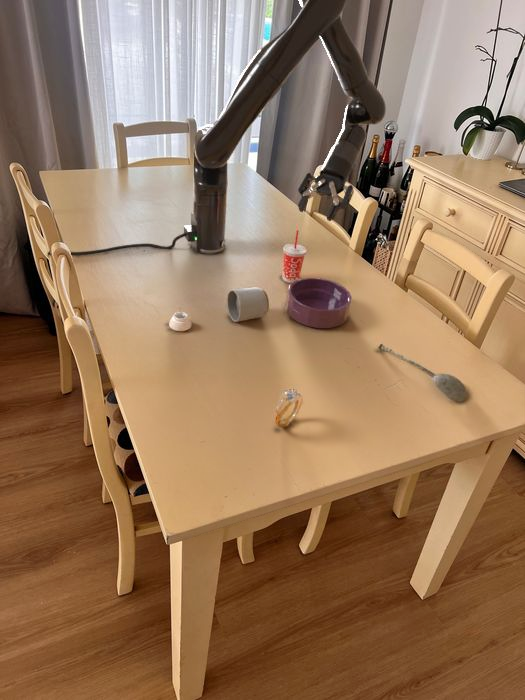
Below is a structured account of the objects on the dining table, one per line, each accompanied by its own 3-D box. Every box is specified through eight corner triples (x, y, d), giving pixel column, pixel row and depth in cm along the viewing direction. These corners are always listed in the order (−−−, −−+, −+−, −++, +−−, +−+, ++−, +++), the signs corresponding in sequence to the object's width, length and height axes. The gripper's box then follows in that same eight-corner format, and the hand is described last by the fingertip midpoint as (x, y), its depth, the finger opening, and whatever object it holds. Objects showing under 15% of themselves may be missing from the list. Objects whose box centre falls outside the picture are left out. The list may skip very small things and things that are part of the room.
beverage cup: (278, 282, 139) (284, 234, 130) (281, 271, 143) (287, 224, 135) (300, 286, 138) (308, 237, 130) (302, 275, 143) (310, 228, 135)
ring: (292, 411, 99) (297, 380, 94) (304, 420, 97) (310, 389, 93) (266, 428, 95) (271, 396, 90) (279, 438, 93) (284, 406, 88)
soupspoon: (455, 409, 105) (470, 397, 109) (462, 397, 103) (476, 385, 107) (370, 353, 116) (386, 344, 120) (374, 341, 114) (391, 332, 118)
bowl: (302, 334, 120) (306, 314, 117) (275, 300, 131) (278, 281, 128) (358, 324, 126) (363, 305, 122) (328, 292, 137) (331, 274, 133)
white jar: (195, 326, 118) (180, 317, 121) (196, 315, 117) (180, 306, 119) (179, 335, 115) (164, 325, 118) (179, 324, 113) (164, 315, 116)
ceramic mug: (269, 321, 123) (272, 293, 118) (238, 328, 119) (240, 299, 115) (249, 300, 130) (252, 272, 126) (220, 305, 127) (221, 277, 122)
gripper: (314, 148, 138) (287, 200, 137) (362, 161, 133) (335, 216, 132) (319, 163, 145) (294, 214, 144) (366, 176, 140) (340, 229, 139)
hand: (314, 215), depth 138 cm, fingers open, 8 cm apart
